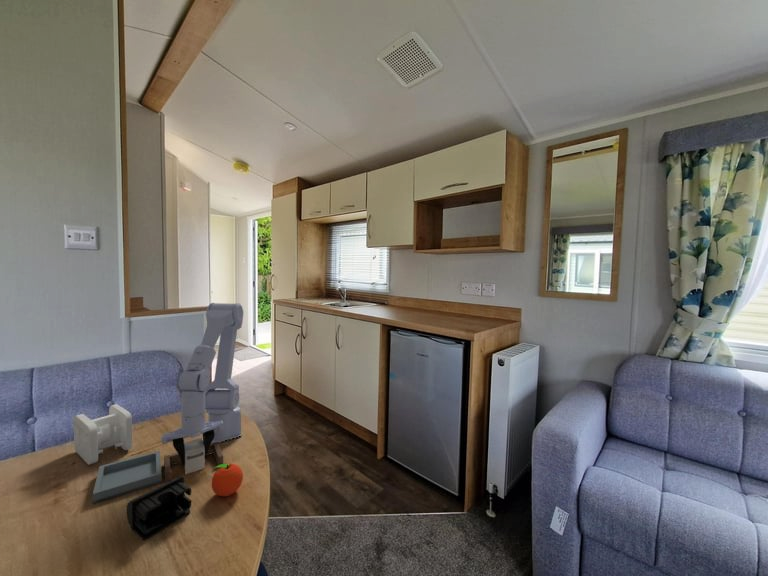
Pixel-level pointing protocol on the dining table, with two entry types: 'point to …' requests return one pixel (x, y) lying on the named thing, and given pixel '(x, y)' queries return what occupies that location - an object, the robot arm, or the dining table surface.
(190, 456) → the box
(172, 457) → the walnut bay
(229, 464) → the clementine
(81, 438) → the cable organizer
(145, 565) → the dining table surface
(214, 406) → the robot arm
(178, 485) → the end cap
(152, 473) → the slate tray
